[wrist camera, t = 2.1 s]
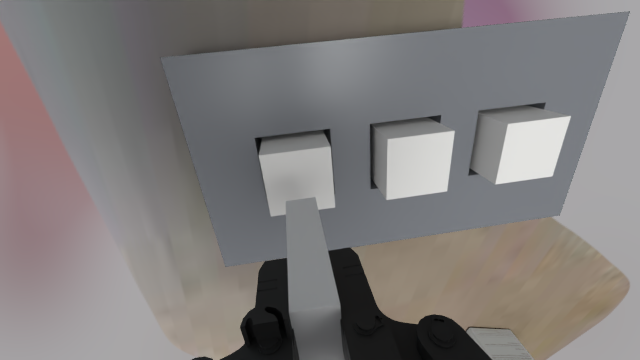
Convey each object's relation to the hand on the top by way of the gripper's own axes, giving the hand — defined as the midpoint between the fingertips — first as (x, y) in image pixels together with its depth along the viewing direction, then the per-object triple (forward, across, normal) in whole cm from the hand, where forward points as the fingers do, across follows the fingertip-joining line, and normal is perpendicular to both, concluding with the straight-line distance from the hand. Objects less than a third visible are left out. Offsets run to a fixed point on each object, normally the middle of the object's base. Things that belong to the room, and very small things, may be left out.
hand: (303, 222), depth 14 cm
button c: (+8, +16, 0) cm, 18 cm away
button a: (+8, 0, 0) cm, 8 cm away
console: (+12, +8, 0) cm, 14 cm away
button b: (+8, +8, 0) cm, 12 cm away
